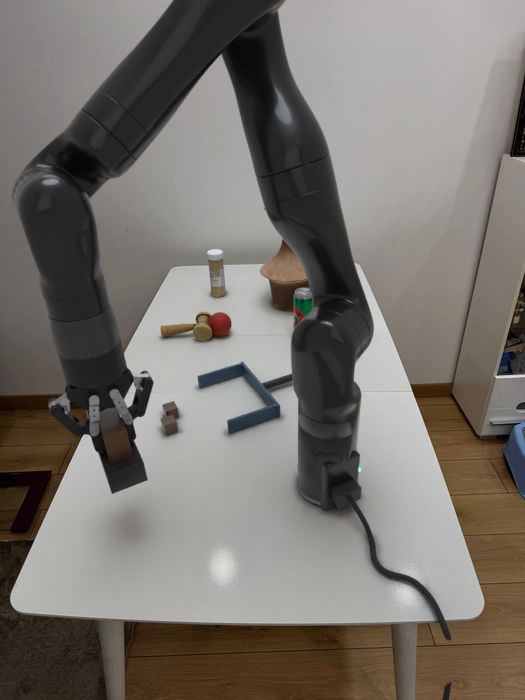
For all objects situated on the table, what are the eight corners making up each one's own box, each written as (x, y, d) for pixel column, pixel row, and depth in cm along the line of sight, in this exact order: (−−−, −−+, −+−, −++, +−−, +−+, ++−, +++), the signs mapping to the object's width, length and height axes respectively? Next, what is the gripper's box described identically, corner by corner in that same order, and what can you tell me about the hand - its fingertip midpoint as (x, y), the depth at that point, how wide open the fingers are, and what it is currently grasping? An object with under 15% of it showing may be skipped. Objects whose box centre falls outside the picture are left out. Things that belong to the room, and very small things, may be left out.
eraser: (148, 480, 67) (137, 434, 63) (111, 494, 66) (97, 447, 61) (129, 437, 75) (118, 393, 71) (96, 449, 73) (83, 404, 69)
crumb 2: (178, 431, 94) (176, 421, 93) (165, 435, 93) (163, 425, 92) (174, 424, 96) (172, 414, 95) (162, 428, 95) (160, 418, 94)
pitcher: (327, 292, 143) (331, 196, 129) (316, 319, 130) (318, 215, 115) (270, 287, 148) (267, 194, 133) (253, 313, 134) (248, 212, 119)
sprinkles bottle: (208, 295, 145) (203, 253, 138) (216, 289, 148) (212, 247, 141) (221, 298, 143) (217, 255, 136) (229, 292, 146) (225, 249, 139)
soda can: (312, 339, 121) (313, 296, 115) (292, 338, 122) (291, 295, 116) (314, 329, 125) (315, 287, 119) (295, 328, 126) (295, 286, 120)
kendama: (162, 350, 122) (232, 338, 121) (155, 326, 120) (227, 314, 118) (168, 339, 129) (234, 328, 128) (162, 317, 127) (229, 305, 126)
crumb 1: (179, 417, 98) (177, 407, 96) (167, 421, 97) (165, 411, 95) (175, 410, 100) (173, 400, 98) (163, 414, 99) (161, 404, 97)
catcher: (315, 404, 99) (315, 393, 98) (229, 434, 93) (228, 422, 91) (274, 362, 113) (274, 351, 111) (198, 386, 106) (196, 375, 105)
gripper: (29, 372, 54) (69, 482, 63) (153, 338, 59) (172, 444, 68) (23, 342, 60) (60, 447, 69) (136, 314, 65) (157, 414, 74)
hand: (116, 445), depth 68 cm, fingers closed on eraser, 3 cm apart
